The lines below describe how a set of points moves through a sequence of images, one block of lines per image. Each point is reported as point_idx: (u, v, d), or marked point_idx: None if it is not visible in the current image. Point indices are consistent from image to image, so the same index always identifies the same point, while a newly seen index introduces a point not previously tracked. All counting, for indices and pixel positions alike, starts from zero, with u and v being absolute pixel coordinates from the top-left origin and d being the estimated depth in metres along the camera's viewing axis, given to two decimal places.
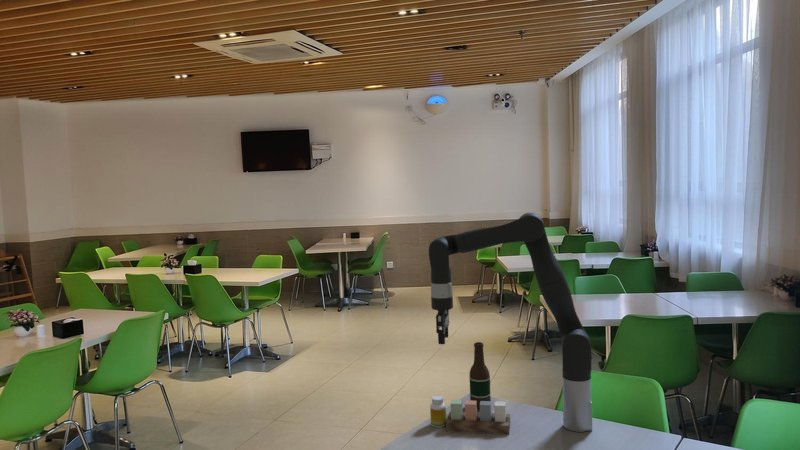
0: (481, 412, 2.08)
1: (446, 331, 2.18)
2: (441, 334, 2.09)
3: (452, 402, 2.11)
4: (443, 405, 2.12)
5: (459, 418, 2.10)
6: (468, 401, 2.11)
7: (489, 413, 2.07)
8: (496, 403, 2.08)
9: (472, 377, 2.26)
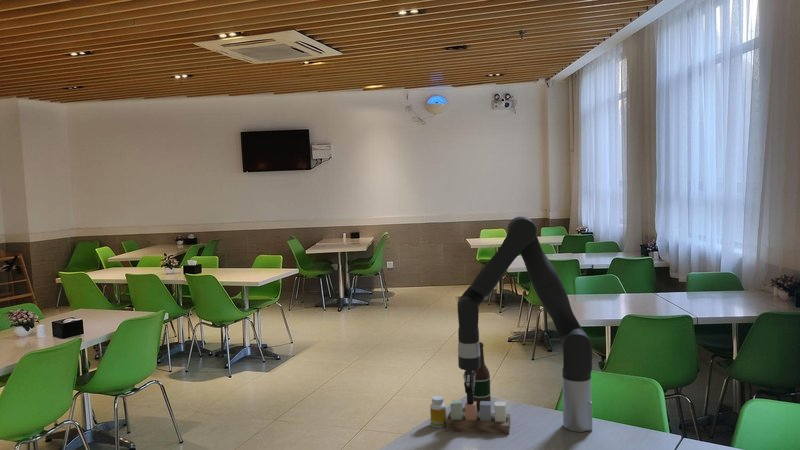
0: (481, 412, 2.08)
1: None
2: None
3: (452, 402, 2.11)
4: (443, 405, 2.12)
5: (459, 418, 2.10)
6: None
7: (489, 413, 2.07)
8: (496, 403, 2.08)
9: None
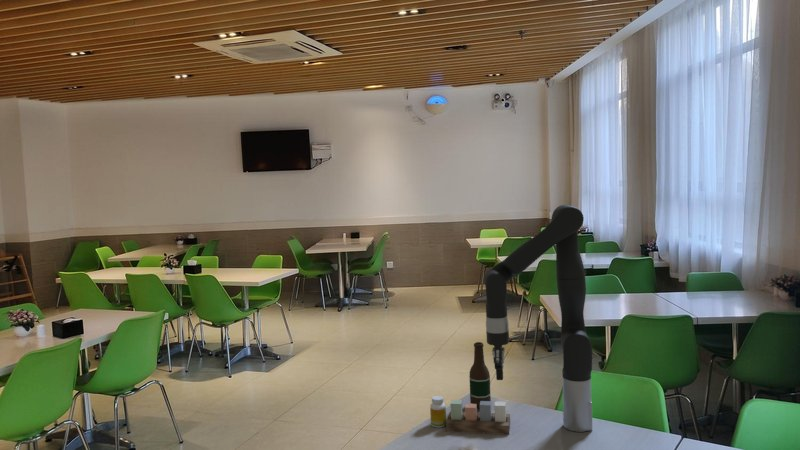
0: (481, 412, 2.08)
1: None
2: None
3: (452, 402, 2.11)
4: (443, 405, 2.12)
5: (459, 418, 2.10)
6: (468, 404, 2.11)
7: (489, 413, 2.07)
8: (496, 403, 2.08)
9: (472, 377, 2.26)
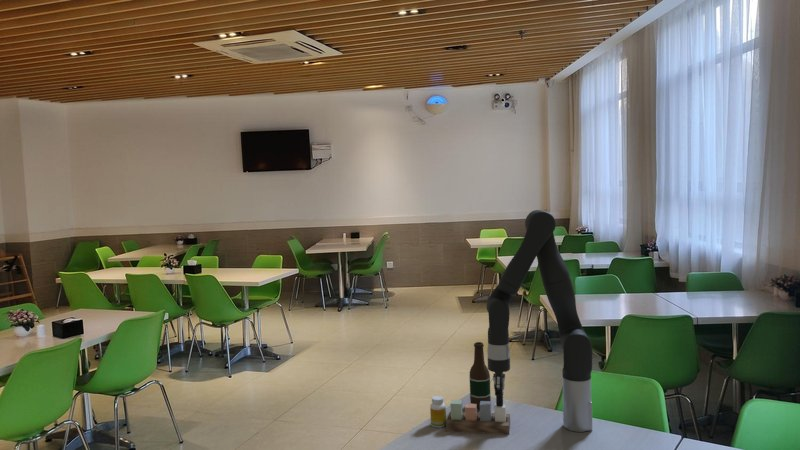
0: (481, 412, 2.08)
1: None
2: None
3: (452, 402, 2.11)
4: (443, 405, 2.12)
5: (459, 418, 2.10)
6: (468, 404, 2.11)
7: (489, 413, 2.07)
8: (496, 405, 2.09)
9: (472, 377, 2.26)
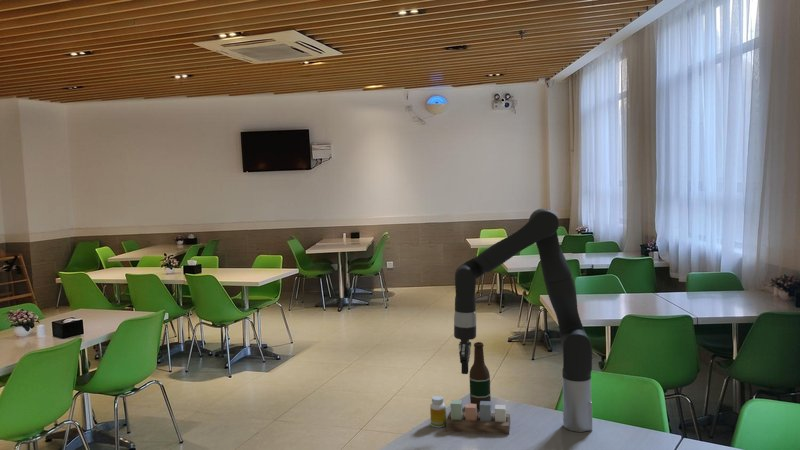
0: (481, 412, 2.08)
1: None
2: None
3: (452, 402, 2.11)
4: (443, 405, 2.12)
5: (459, 418, 2.10)
6: (468, 404, 2.11)
7: (489, 413, 2.07)
8: (496, 406, 2.09)
9: (472, 377, 2.26)
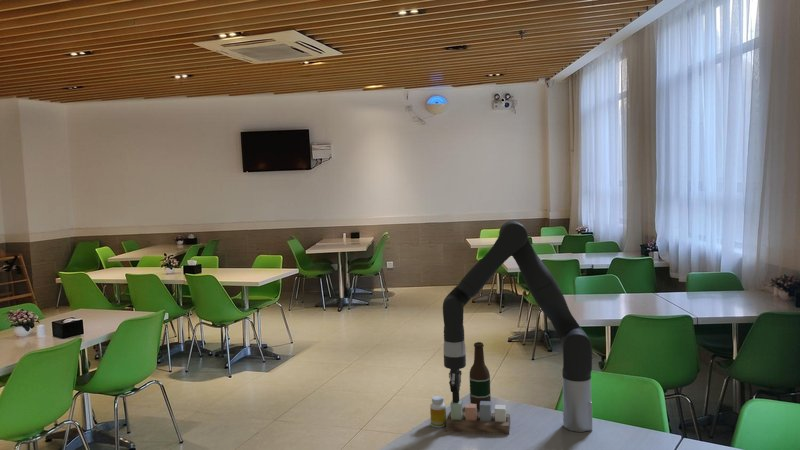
0: (481, 412, 2.08)
1: None
2: None
3: (452, 402, 2.11)
4: (443, 405, 2.12)
5: (459, 418, 2.10)
6: (468, 404, 2.11)
7: (489, 413, 2.07)
8: (496, 406, 2.09)
9: (472, 377, 2.26)
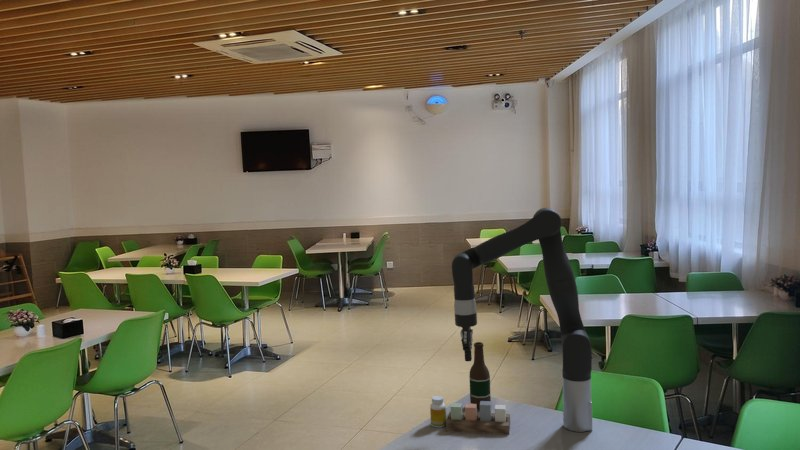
0: (481, 412, 2.08)
1: None
2: None
3: (452, 405, 2.11)
4: (443, 405, 2.12)
5: None
6: (468, 404, 2.11)
7: (489, 413, 2.07)
8: (496, 406, 2.09)
9: (472, 377, 2.26)
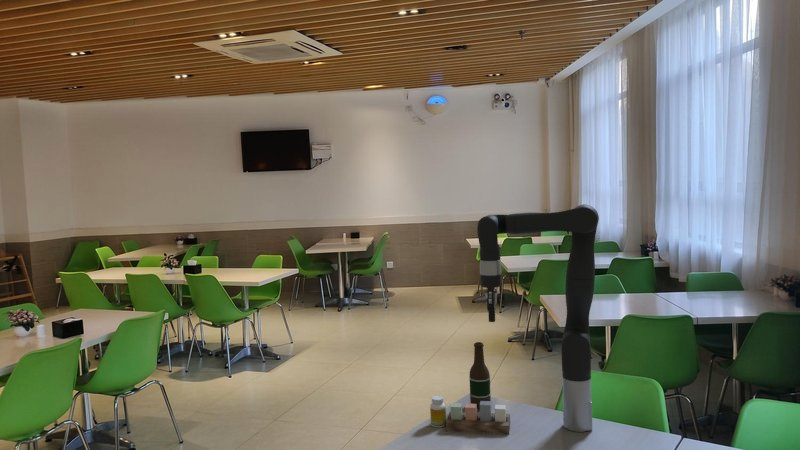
0: (481, 412, 2.08)
1: None
2: None
3: (452, 405, 2.11)
4: (443, 405, 2.12)
5: None
6: (468, 404, 2.11)
7: (489, 413, 2.07)
8: (496, 406, 2.09)
9: (472, 377, 2.26)
